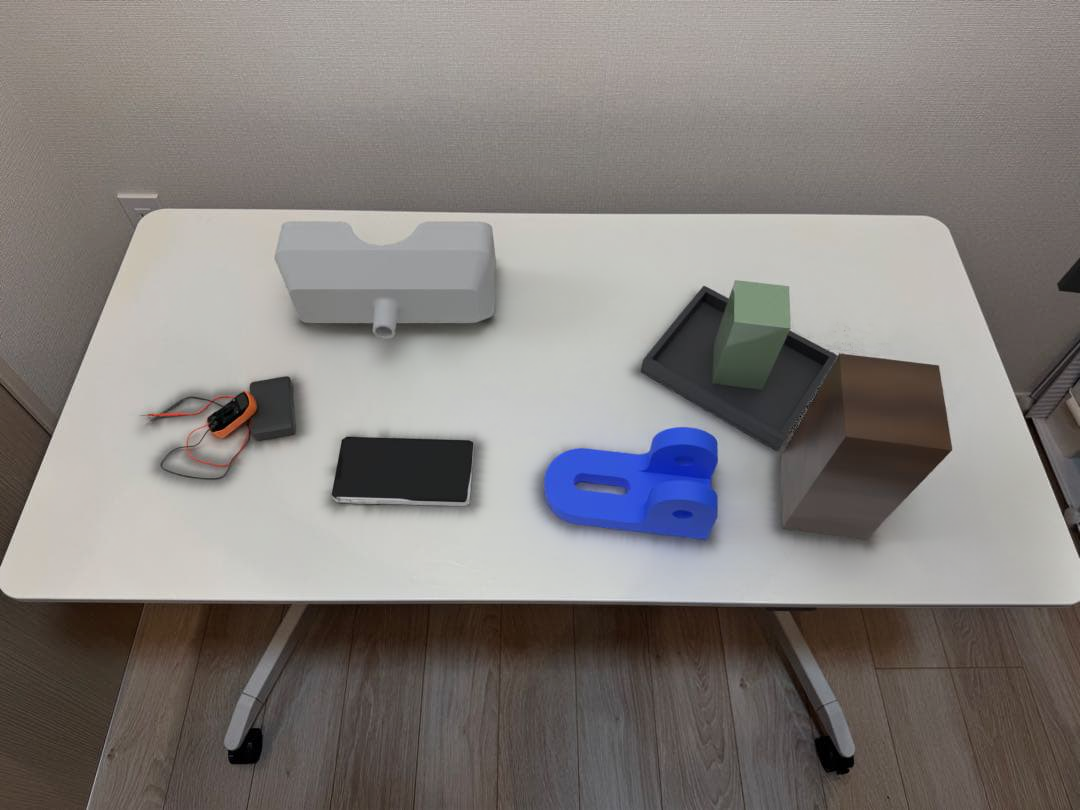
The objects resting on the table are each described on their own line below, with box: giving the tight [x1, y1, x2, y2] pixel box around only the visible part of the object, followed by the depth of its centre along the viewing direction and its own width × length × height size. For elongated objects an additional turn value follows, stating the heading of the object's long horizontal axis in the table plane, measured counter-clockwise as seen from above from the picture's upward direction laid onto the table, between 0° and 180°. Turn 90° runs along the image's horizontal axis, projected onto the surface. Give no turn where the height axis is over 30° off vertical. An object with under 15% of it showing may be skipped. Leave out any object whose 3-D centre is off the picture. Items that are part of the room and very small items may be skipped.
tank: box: [273, 220, 497, 339], centre depth 93 cm, size 25×16×12 cm, turn 90°
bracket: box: [544, 426, 719, 541], centre depth 81 cm, size 18×8×9 cm, turn 83°
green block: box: [712, 279, 792, 390], centre depth 89 cm, size 6×6×12 cm
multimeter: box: [139, 375, 296, 480], centre depth 87 cm, size 18×12×3 cm, turn 98°
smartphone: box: [331, 436, 475, 507], centre depth 86 cm, size 8×1×15 cm
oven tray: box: [640, 285, 839, 451], centre depth 93 cm, size 15×19×3 cm
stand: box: [780, 352, 953, 541], centre depth 77 cm, size 9×9×20 cm
